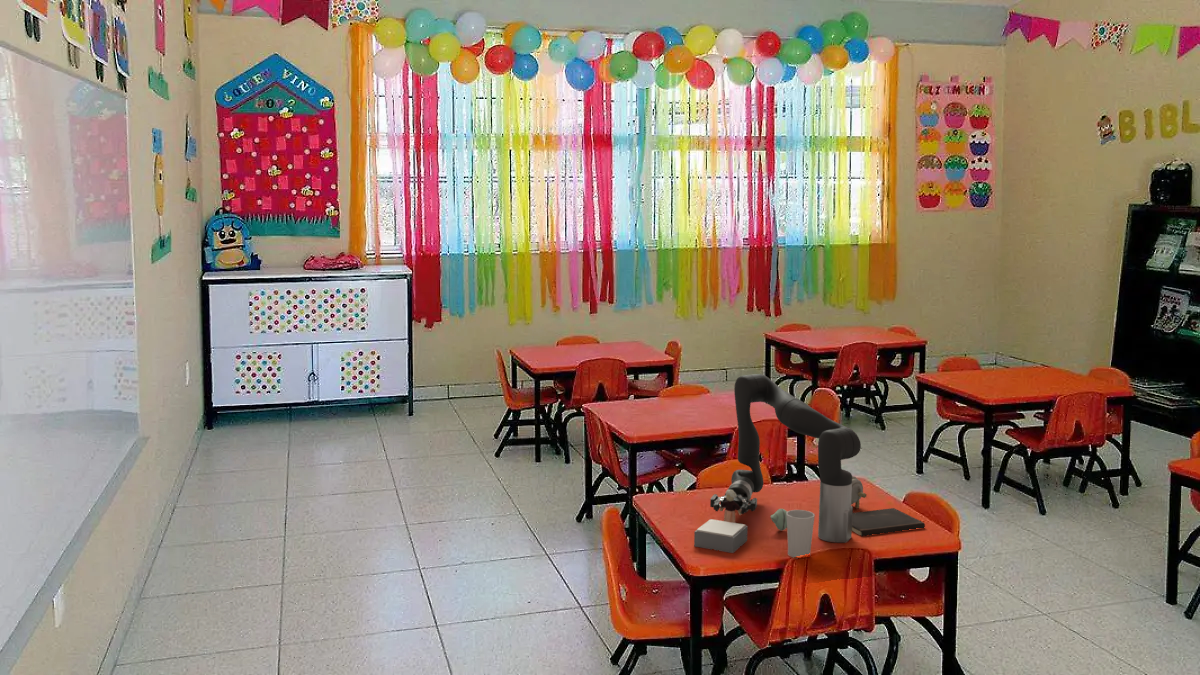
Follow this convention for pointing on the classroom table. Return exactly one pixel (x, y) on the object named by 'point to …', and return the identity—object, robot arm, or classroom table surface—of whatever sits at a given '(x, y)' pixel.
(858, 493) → the toy sheep
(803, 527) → the cup
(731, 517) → the grandmother figurine
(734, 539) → the plinth
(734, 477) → the robot arm
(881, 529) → the hardcover book
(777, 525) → the robot head
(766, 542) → the classroom table surface
